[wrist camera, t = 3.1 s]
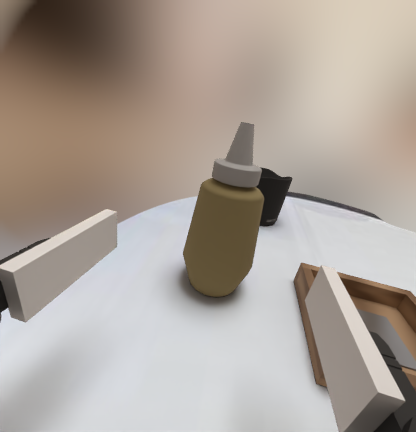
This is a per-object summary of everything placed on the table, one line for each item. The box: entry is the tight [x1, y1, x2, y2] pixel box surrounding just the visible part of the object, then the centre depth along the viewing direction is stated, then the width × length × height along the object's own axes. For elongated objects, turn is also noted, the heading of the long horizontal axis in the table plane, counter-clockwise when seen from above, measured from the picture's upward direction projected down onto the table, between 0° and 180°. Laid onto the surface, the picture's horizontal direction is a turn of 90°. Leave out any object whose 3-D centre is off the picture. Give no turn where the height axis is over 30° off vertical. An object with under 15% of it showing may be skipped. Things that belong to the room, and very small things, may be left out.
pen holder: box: [256, 168, 292, 226], centre depth 45 cm, size 9×9×10 cm
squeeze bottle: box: [183, 122, 264, 297], centre depth 23 cm, size 8×8×18 cm
